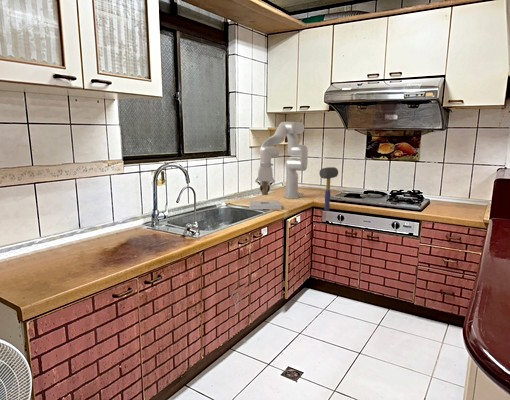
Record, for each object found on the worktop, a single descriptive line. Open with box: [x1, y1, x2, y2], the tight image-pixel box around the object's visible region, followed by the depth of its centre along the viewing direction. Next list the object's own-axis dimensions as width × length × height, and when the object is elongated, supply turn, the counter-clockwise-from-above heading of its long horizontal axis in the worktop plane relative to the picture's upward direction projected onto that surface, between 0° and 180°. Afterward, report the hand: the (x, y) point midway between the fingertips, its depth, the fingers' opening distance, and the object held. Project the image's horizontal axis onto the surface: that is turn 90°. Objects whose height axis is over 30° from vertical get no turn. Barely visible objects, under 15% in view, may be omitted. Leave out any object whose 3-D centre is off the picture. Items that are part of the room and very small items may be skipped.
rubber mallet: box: [318, 166, 339, 212], centre depth 244 cm, size 12×8×30 cm, turn 129°
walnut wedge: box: [261, 182, 269, 196], centre depth 252 cm, size 4×4×9 cm
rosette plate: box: [248, 200, 282, 211], centre depth 255 cm, size 22×14×3 cm, turn 92°
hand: (264, 191), depth 253 cm, fingers closed on walnut wedge, 4 cm apart
